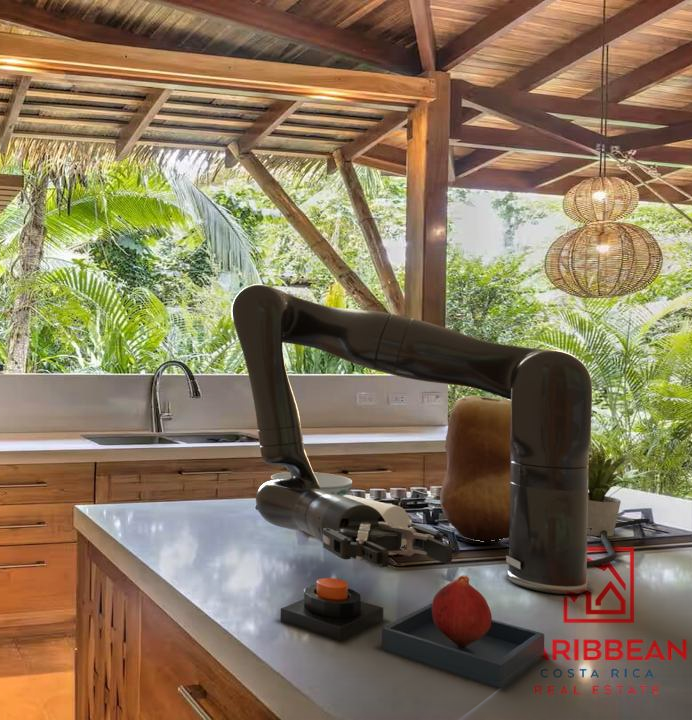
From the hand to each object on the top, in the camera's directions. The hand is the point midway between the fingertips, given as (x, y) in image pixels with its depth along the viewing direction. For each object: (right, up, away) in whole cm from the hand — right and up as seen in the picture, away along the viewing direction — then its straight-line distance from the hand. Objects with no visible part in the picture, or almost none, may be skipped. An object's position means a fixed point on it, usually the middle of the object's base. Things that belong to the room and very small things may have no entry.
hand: (418, 557), depth 89 cm
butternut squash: (+29, -7, +37) cm, 48 cm away
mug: (+10, -8, +34) cm, 36 cm away
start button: (-10, -5, +1) cm, 11 cm away
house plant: (+53, -7, +41) cm, 68 cm away
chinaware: (+5, -7, +54) cm, 55 cm away
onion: (+1, -8, -7) cm, 11 cm away
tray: (+1, -9, -7) cm, 11 cm away
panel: (-10, -8, +1) cm, 13 cm away
